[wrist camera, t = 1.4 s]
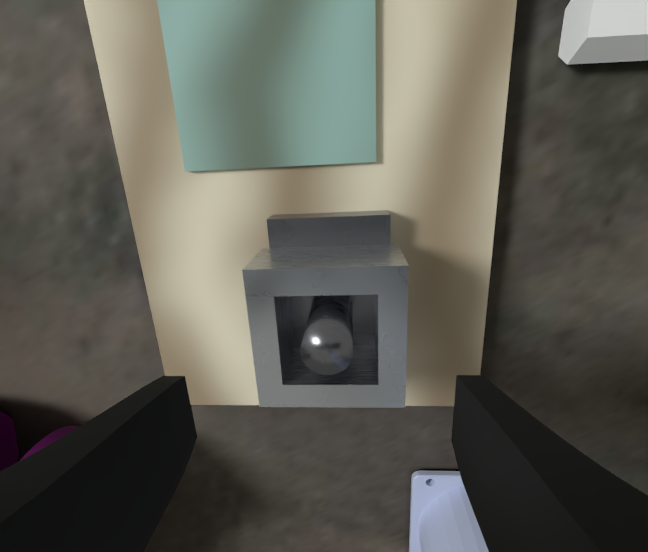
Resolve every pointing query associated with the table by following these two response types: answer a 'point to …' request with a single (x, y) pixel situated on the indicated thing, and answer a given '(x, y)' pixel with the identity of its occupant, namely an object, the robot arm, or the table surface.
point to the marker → (604, 31)
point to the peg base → (332, 310)
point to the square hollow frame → (321, 280)
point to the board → (307, 159)
